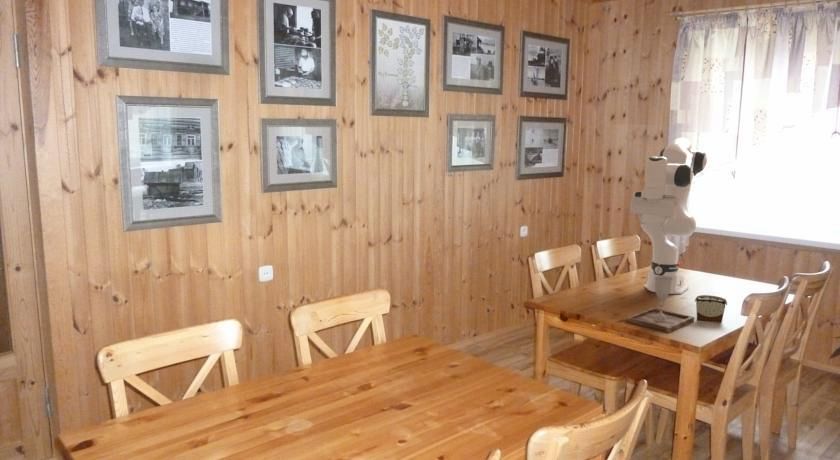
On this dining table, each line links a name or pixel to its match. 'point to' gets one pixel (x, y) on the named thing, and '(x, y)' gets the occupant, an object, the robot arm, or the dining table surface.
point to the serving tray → (670, 325)
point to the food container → (710, 308)
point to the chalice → (662, 293)
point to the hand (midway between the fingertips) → (652, 225)
